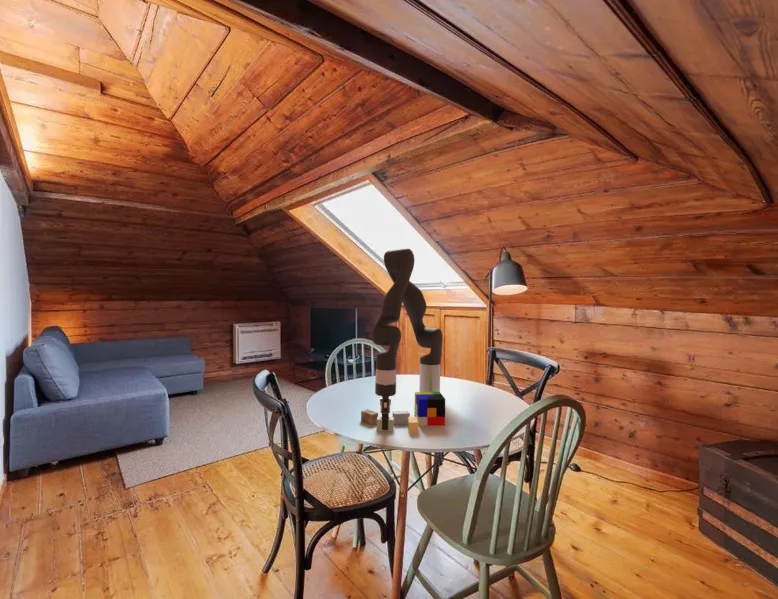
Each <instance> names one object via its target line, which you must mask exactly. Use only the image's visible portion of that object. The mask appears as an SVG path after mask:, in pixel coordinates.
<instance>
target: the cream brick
mask: <svg viewBox="0 0 778 599" xmlns="http://www.w3.org/2000/svg"><path fill="white" fill-rule="evenodd" d="M381 417H382V416H378V417H377V424H376V431H383V432H384V431H385V432H386V431H387V432H388V431H390V432H393V431H394V425H395V424H394V417H392V416H389V420H388V430H382V418H381Z"/></svg>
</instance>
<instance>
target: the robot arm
mask: <svg viewBox="0 0 778 599" xmlns="http://www.w3.org/2000/svg"><path fill="white" fill-rule="evenodd" d="M383 264H384V267H385V268H386V271H387V274H388V276H389V278H390V279H391V281H392V282H393V284H392V285H391V287H390V288H389V289H388V290H387V292H386V293H385V296H384V298H383V302H382V307H381V312H380V315H379V317H378V319H377V322H376V323H375V325H374V327H373V329H372V332H371V340H372V342H373V344H374V345H376V346H383V347H384V346H386V347H389V348H388V350H385V351H380V352H377V354H376V358H375V359H376V361H375V363H376V364H375V365H376V367H375V369H376V370H375V379H374V384H375V386H374V387H375V388H374V392H375V393H374V394H375V395H377V397H378V396H379V397H380V398H379V407H380V411H379V412H380V414H381V416H380V417H381V418H382V430H388V420H389V417H390V413H391V404H392V398H390V397H394V396H395V395H396V394H397V369H396V368H397V367H396V364H397V362H396V361H397V354H398V350H399V346H400V343H401V339H402V332H401V330H400V328H399V327H398V326H391V325H390V326H389V324H393V323H397V322H399V320H400V317H401V311H402V306H403V307H404V309H405V311H406V313H407V317H408V318H409V322H410V323H411V326H412V330H413V332H414V333H413V334H414V338H415V340H416V343H417V345H418V346H420V347H421V348H425V349H430V351H429V353H427V354H424V355H422V356H420V357H419V391H418V392H440V393H441V360H442V354H443V352H442V351H443V332H442V329H440V328H436V327H428V326H425V323H424V320H423V319H424V316H425V314H426V311H427V302H426V299H425V296H424V294H423V292H422V291H421V288H419V287H418V286H416V285H415V284H414V283H413V282H412V281H410V280H411V276H412V273H413V270H414V268H415V255H414V252H413V250H412V249H410V248H397V249H392V250H391V249H390V250H387V251H385V252H384V255H383Z"/></svg>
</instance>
